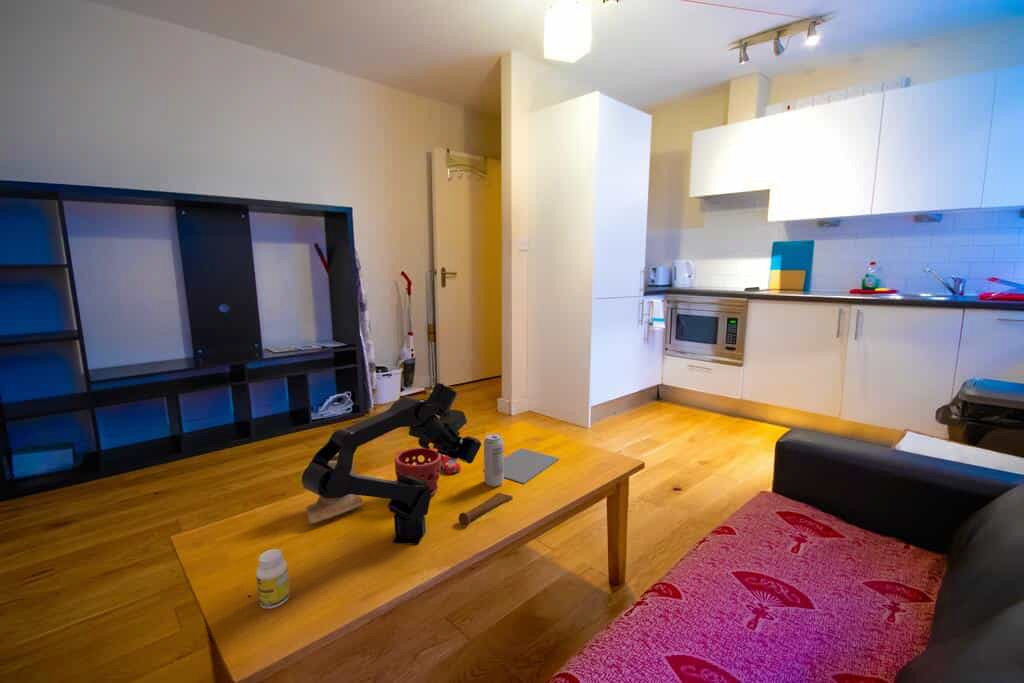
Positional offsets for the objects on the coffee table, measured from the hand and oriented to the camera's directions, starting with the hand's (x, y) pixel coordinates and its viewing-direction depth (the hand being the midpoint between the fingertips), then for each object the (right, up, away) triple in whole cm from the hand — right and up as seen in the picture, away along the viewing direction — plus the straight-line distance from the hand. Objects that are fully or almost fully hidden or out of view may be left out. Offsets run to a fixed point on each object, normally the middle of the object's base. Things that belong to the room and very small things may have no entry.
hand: (463, 457), depth 123 cm
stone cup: (-36, -14, -2) cm, 39 cm away
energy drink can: (+8, -12, +13) cm, 19 cm away
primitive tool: (+6, -14, -1) cm, 16 cm away
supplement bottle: (-34, -19, -35) cm, 52 cm away
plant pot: (-14, -13, +7) cm, 20 cm away
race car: (-8, -10, +25) cm, 28 cm away
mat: (+17, -9, +26) cm, 32 cm away
